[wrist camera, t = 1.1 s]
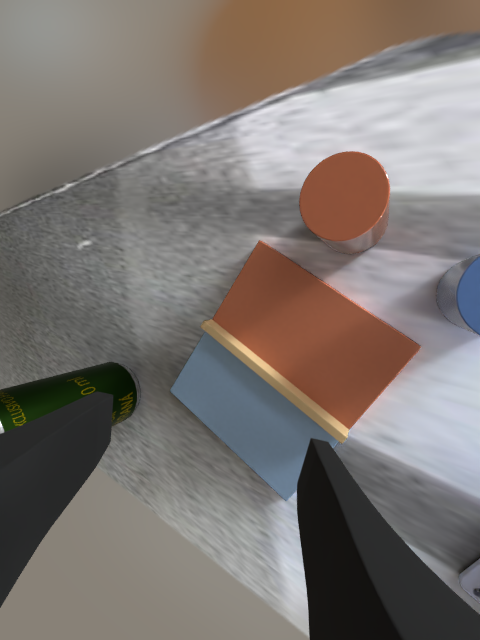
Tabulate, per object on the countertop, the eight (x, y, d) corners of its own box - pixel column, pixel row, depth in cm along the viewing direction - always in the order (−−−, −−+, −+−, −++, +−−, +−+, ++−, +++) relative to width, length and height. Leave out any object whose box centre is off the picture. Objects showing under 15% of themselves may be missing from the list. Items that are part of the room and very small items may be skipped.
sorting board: (420, 345, 18) (424, 350, 17) (288, 497, 23) (281, 512, 21) (262, 241, 22) (252, 237, 20) (173, 388, 26) (159, 395, 25)
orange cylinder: (403, 207, 18) (410, 175, 13) (360, 266, 19) (352, 257, 14) (344, 176, 19) (331, 136, 14) (307, 233, 21) (283, 215, 16)
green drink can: (92, 395, 30) (-71, 452, 20) (110, 349, 29) (-55, 383, 18) (130, 429, 29) (-25, 513, 18) (151, 382, 27) (-4, 442, 16)
